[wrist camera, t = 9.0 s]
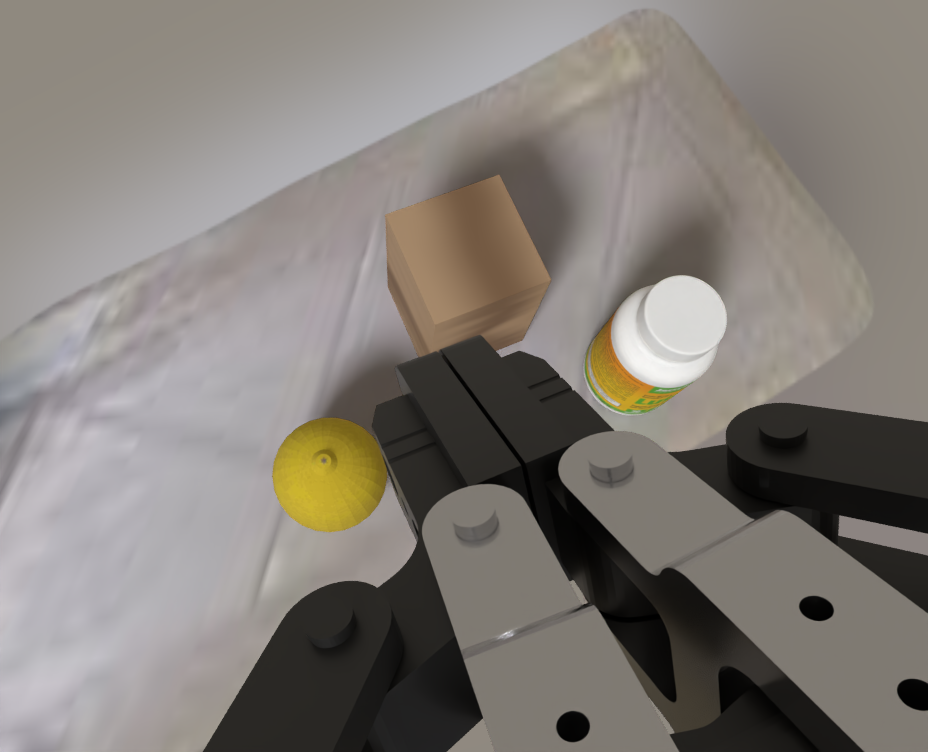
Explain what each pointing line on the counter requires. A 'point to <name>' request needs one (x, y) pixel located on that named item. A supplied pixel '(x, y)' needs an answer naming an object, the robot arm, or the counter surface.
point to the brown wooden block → (464, 268)
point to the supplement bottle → (655, 345)
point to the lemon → (329, 474)
